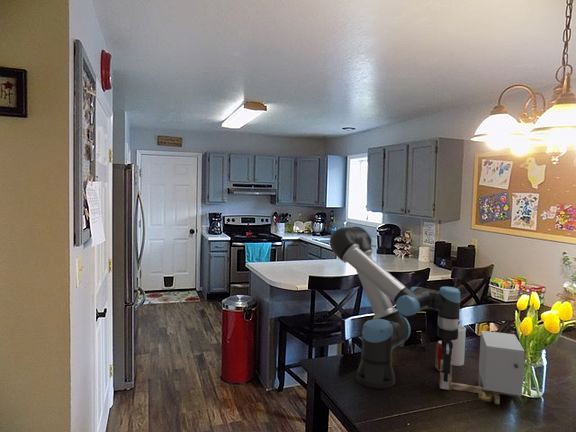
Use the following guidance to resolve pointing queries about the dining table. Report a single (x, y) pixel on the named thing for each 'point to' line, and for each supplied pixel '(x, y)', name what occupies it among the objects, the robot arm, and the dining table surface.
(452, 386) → the block
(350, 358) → the dining table surface
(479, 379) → the cabinet
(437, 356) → the beverage can
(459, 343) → the cup
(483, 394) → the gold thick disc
